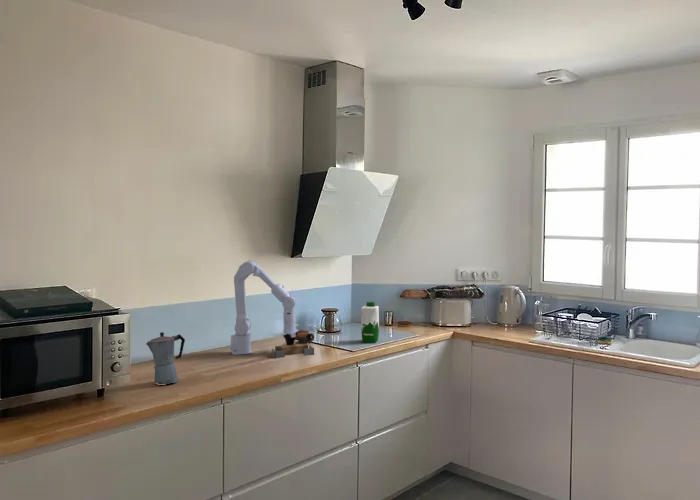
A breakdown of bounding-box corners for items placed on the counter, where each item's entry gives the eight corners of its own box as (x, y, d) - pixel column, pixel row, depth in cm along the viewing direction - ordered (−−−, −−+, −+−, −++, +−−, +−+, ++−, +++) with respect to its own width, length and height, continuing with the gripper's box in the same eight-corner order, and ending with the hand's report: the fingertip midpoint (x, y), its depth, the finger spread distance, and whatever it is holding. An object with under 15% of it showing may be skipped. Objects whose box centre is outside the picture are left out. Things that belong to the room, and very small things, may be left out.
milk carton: (380, 340, 298) (379, 301, 297) (376, 343, 289) (376, 304, 288) (363, 339, 300) (363, 301, 299) (360, 342, 291) (359, 303, 290)
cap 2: (304, 355, 266) (304, 348, 266) (301, 352, 272) (300, 346, 272) (314, 354, 268) (313, 348, 267) (310, 351, 274) (310, 345, 274)
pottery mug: (289, 347, 286) (289, 331, 290) (299, 352, 294) (298, 336, 297) (311, 342, 282) (310, 326, 286) (319, 347, 290) (319, 332, 293)
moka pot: (142, 384, 222) (140, 333, 221) (179, 376, 232) (177, 327, 231) (153, 389, 215) (152, 336, 214) (190, 380, 226) (189, 330, 225)
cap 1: (274, 358, 261) (274, 351, 261) (271, 354, 268) (271, 348, 268) (284, 357, 263) (284, 350, 263) (281, 354, 269) (281, 347, 269)
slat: (276, 356, 266) (276, 348, 265) (275, 354, 269) (275, 346, 269) (308, 353, 270) (308, 345, 270) (306, 351, 274) (305, 343, 274)
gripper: (301, 323, 267) (302, 352, 268) (294, 318, 281) (294, 345, 281) (286, 324, 265) (287, 353, 265) (279, 319, 278) (280, 347, 279)
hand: (290, 349), depth 273 cm, fingers closed
